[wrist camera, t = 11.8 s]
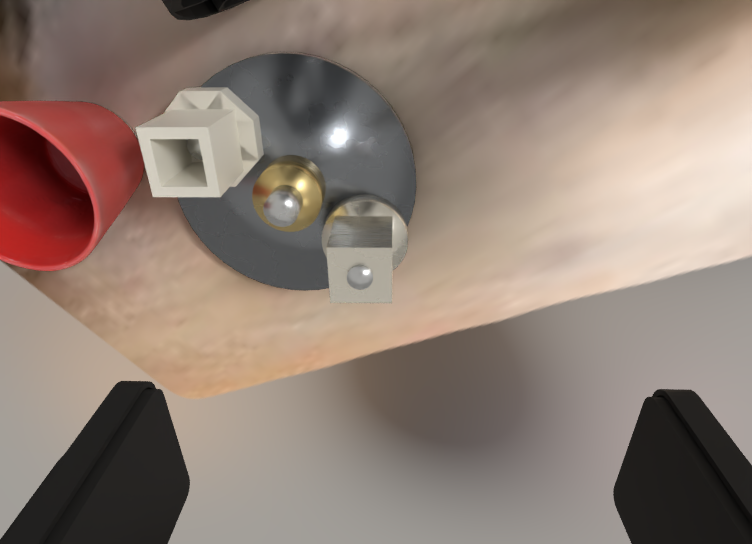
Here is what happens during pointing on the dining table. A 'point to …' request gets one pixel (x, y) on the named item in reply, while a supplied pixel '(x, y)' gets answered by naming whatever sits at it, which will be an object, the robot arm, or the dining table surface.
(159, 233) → the dining table surface
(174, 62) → the dining table surface
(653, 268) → the dining table surface
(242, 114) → the open ended square duct
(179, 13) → the car wheel rim
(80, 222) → the flower pot
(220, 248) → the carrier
